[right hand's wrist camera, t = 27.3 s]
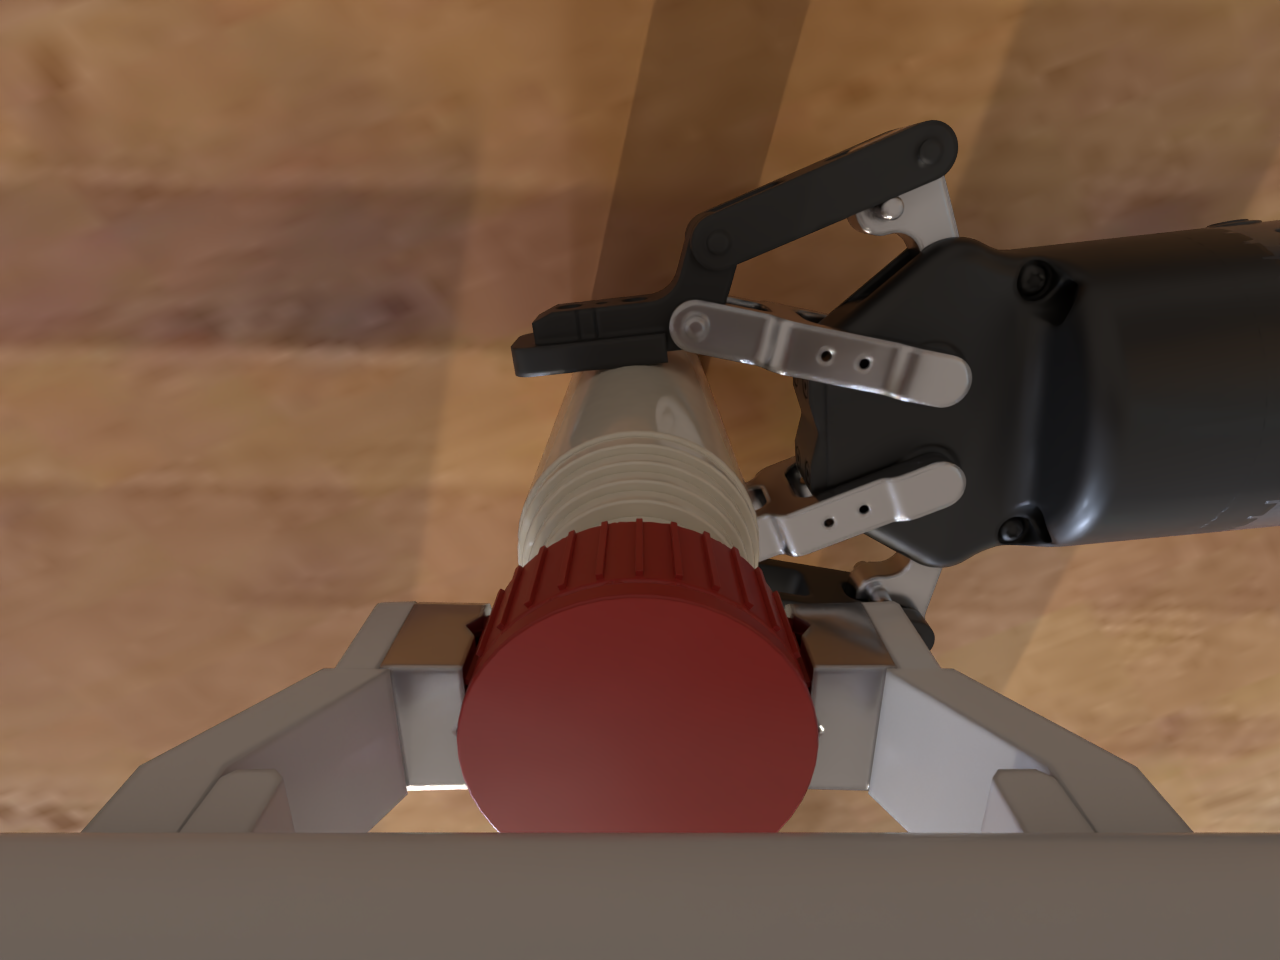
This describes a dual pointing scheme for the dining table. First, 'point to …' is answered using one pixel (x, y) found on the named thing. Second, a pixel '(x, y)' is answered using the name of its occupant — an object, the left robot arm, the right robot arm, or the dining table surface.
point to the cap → (637, 691)
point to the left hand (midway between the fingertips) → (536, 450)
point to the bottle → (639, 459)
